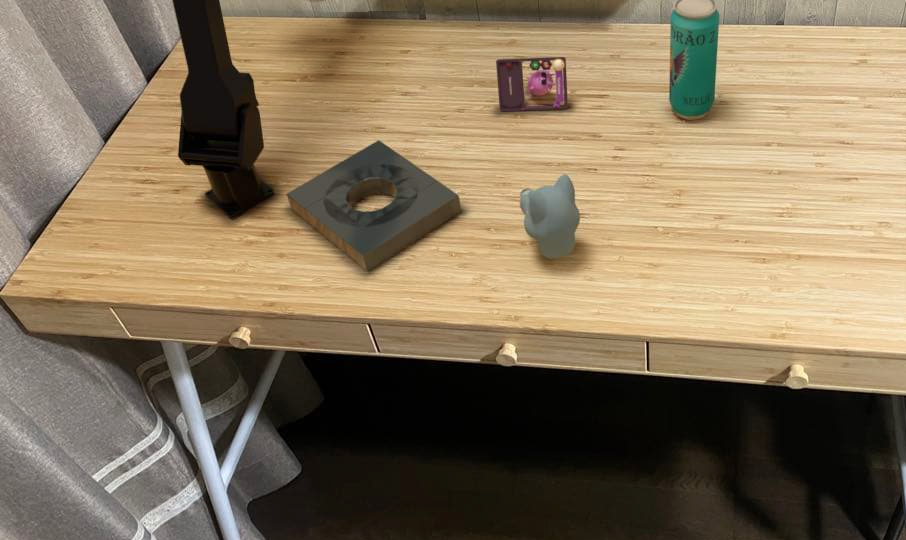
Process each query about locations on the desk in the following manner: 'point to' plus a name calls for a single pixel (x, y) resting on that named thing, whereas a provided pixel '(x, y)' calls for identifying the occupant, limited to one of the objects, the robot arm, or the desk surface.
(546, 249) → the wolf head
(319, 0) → the pill bottle
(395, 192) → the grey square slab
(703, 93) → the beverage can
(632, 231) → the desk surface
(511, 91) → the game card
